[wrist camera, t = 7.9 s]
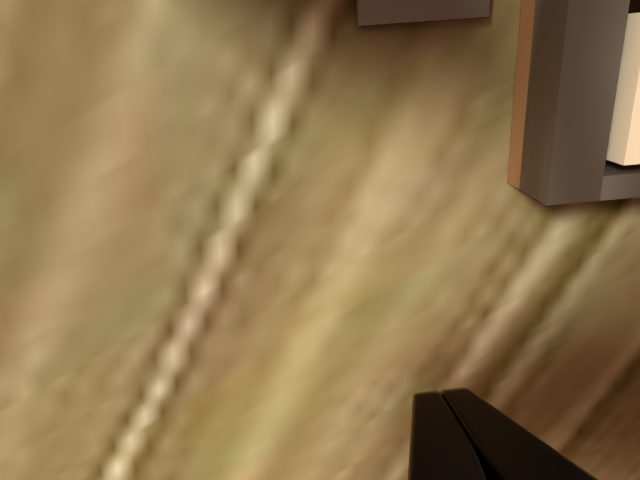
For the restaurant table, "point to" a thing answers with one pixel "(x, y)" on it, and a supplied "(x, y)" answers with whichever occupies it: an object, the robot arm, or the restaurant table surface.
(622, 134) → the key ivory
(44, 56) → the restaurant table surface
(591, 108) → the keypad
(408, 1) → the tile
